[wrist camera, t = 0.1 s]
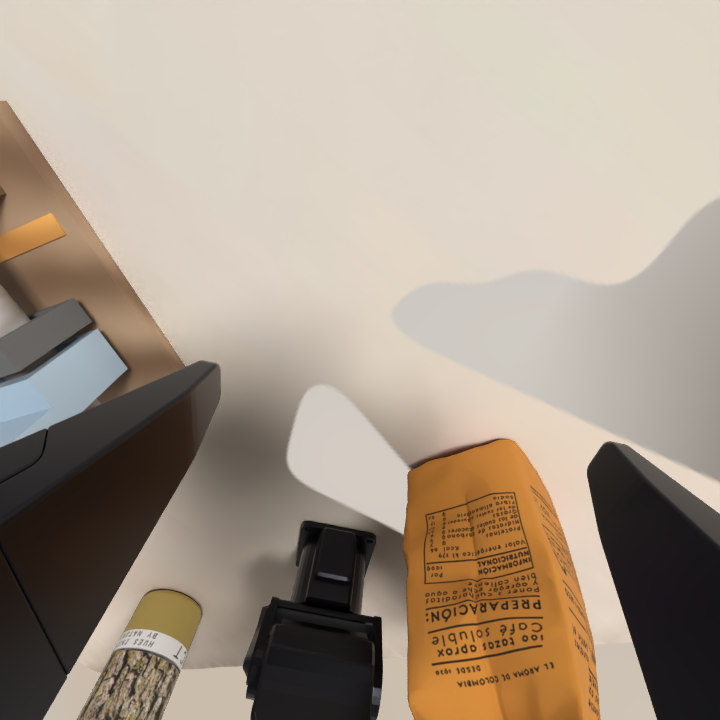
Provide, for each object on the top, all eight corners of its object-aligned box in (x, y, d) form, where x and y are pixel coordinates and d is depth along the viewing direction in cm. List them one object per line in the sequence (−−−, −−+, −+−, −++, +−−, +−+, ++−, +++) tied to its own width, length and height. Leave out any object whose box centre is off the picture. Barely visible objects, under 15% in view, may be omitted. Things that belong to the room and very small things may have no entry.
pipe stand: (191, 375, 28) (143, 435, 23) (81, 406, 31) (16, 467, 25) (6, 100, 20) (-131, 99, 15) (-123, 174, 23) (-277, 194, 17)
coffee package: (440, 553, 36) (477, 1030, 17) (391, 455, 30) (369, 1010, 12) (559, 534, 33) (754, 1079, 15) (529, 423, 28) (787, 1083, 9)
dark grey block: (91, 321, 24) (19, 371, 20) (26, 344, 26) (-56, 396, 21) (74, 297, 24) (-6, 343, 19) (7, 322, 25) (-82, 371, 20)
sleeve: (127, 368, 26) (-28, 515, 17) (64, 388, 27) (-112, 533, 18) (97, 328, 25) (-91, 464, 15) (32, 351, 26) (-177, 488, 17)
